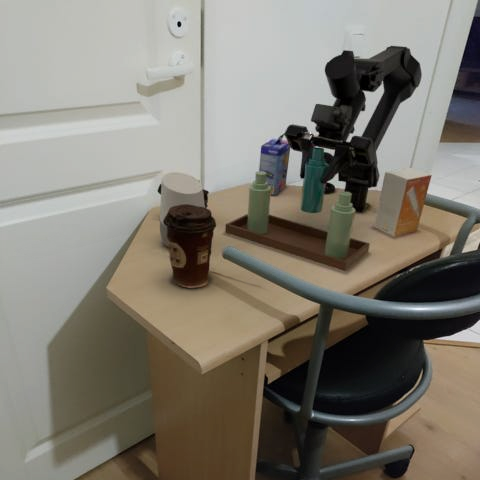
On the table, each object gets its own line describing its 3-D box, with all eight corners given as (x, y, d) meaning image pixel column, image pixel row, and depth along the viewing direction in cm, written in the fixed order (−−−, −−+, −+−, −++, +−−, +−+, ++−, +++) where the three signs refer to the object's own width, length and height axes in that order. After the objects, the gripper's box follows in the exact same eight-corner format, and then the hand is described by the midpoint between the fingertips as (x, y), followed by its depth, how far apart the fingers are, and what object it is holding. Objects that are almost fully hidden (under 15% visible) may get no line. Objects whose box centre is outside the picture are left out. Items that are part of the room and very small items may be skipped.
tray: (254, 219, 112) (254, 210, 111) (367, 253, 99) (370, 243, 98) (225, 234, 105) (225, 224, 103) (344, 273, 91) (346, 262, 90)
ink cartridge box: (276, 196, 127) (280, 138, 119) (256, 192, 128) (259, 136, 121) (287, 185, 135) (292, 131, 127) (268, 182, 136) (272, 128, 128)
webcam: (301, 189, 133) (305, 151, 127) (316, 183, 138) (320, 147, 132) (325, 196, 129) (331, 157, 123) (340, 189, 133) (345, 152, 128)
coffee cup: (173, 295, 82) (170, 222, 75) (160, 273, 88) (156, 204, 81) (221, 286, 85) (222, 216, 78) (205, 266, 91) (205, 199, 84)
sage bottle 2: (329, 247, 100) (338, 187, 93) (350, 252, 98) (361, 192, 91) (320, 255, 96) (329, 194, 89) (342, 261, 94) (353, 199, 88)
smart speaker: (189, 259, 93) (188, 188, 86) (151, 248, 97) (146, 178, 89) (215, 242, 101) (216, 175, 93) (178, 232, 104) (176, 167, 96)
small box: (394, 238, 106) (407, 179, 99) (372, 228, 111) (384, 171, 104) (418, 231, 110) (432, 174, 103) (396, 222, 115) (409, 166, 108)
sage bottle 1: (253, 224, 109) (256, 168, 102) (271, 228, 107) (276, 172, 100) (243, 230, 105) (245, 173, 98) (261, 235, 103) (265, 177, 97)
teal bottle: (297, 206, 104) (303, 146, 97) (317, 205, 105) (325, 145, 98) (304, 213, 100) (311, 151, 93) (325, 212, 101) (333, 151, 94)
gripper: (293, 81, 97) (259, 148, 95) (381, 93, 88) (346, 166, 86) (307, 117, 107) (277, 178, 105) (388, 131, 98) (356, 198, 96)
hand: (311, 180), depth 98 cm, fingers closed on teal bottle, 4 cm apart
